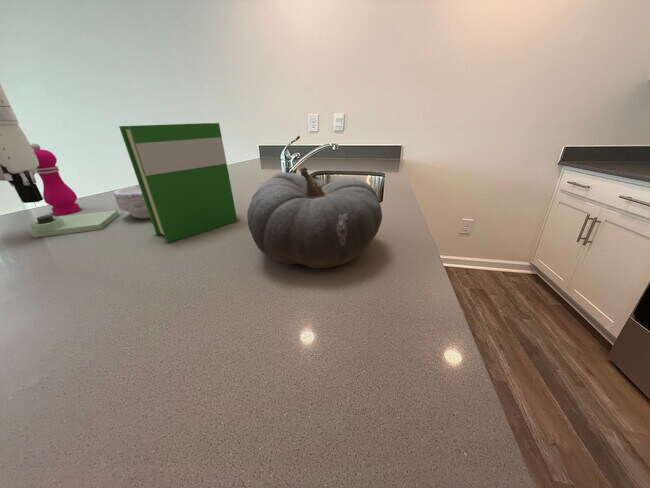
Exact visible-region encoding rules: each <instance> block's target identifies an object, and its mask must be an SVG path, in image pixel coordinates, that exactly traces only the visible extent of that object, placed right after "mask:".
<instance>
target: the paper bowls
mask: <svg viewBox="0 0 650 488" xmlns="http://www.w3.org/2000/svg"><path fill="white" fill-rule="evenodd" d="M113 196H114V198H115V202H116V205H117V207H118V208H119V209H118V210H120V211H122V212H128V213H129V214H130V215H131V216H132V217H134V218H138V219H151V218H150V215H149V212H148V209H147V206H146V203H145V200H144V197H143V194H142V192H141V189H140V186H139V184H135V185H130V186H125V187H122V188H118V189H116V190H114V191H113Z"/></svg>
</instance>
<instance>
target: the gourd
mask: <svg viewBox="0 0 650 488" xmlns="http://www.w3.org/2000/svg"><path fill="white" fill-rule="evenodd" d="M299 172H300V174H299V173H295V172H286V171H285V172H283V171H282V172H277V173H275V174H274V175H272V177H271V178H270V179H268V180H266V181H265V182H263V183H262V184H261V185H260V186H259V187H258V189H257V190H256V192H254V194H253V195H252V198H251V201H250V203H249V206H248V208H247V214H246V215H247V216H246V218H247V226H248V230H249V232H250V235H251V237H252V239H253V241H254V243H255V245H256V247H257V248H258V249H259V251H261V252H262V253H263V254H265V255H266V256H268V257H269V258H271V259H273V260H275V261H277V262H279V263H282V264H285V265H296V264H300V265H302V266H306V267H308V268H312V269H330V268H333V267H340V266H342V265H344V264H346V263H348V262H350V261H352V260H355V259H356V258H357V257H359V256H360V255H361V254H363V252H364V251H365V250H367V248H368V247H369V246H370V245H371V243H372V242H373V240H374V239H375V238H376V236H377V234H378V232H379V229H380V227H381V224H382V220H383V213H382V212H383V211H382V207H381V202H380V200H379V198H378V194H377V192H376V191H375V190H374V188H373V187H372V186H371V185H370V184H369V183H368V182H366V181H364V180H362V179H360V178H355V177H345V178H340V179H338V180H337V179H336V180H334V181H331V182H329V183H327V184H326V183H325V182H323V181H322V180H320V179H314V177H313V176H312V175H311V174H309V172H308V168H307V167H306V166H303V167H300V168H299Z"/></svg>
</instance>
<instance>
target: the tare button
mask: <svg viewBox="0 0 650 488" xmlns="http://www.w3.org/2000/svg"><path fill="white" fill-rule="evenodd" d="M54 218H55V217H53V215H52V214H46V215H40V216H37V217H36V221H38V222H39V224H45V223H49V222H53V221H55V220H54Z"/></svg>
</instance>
